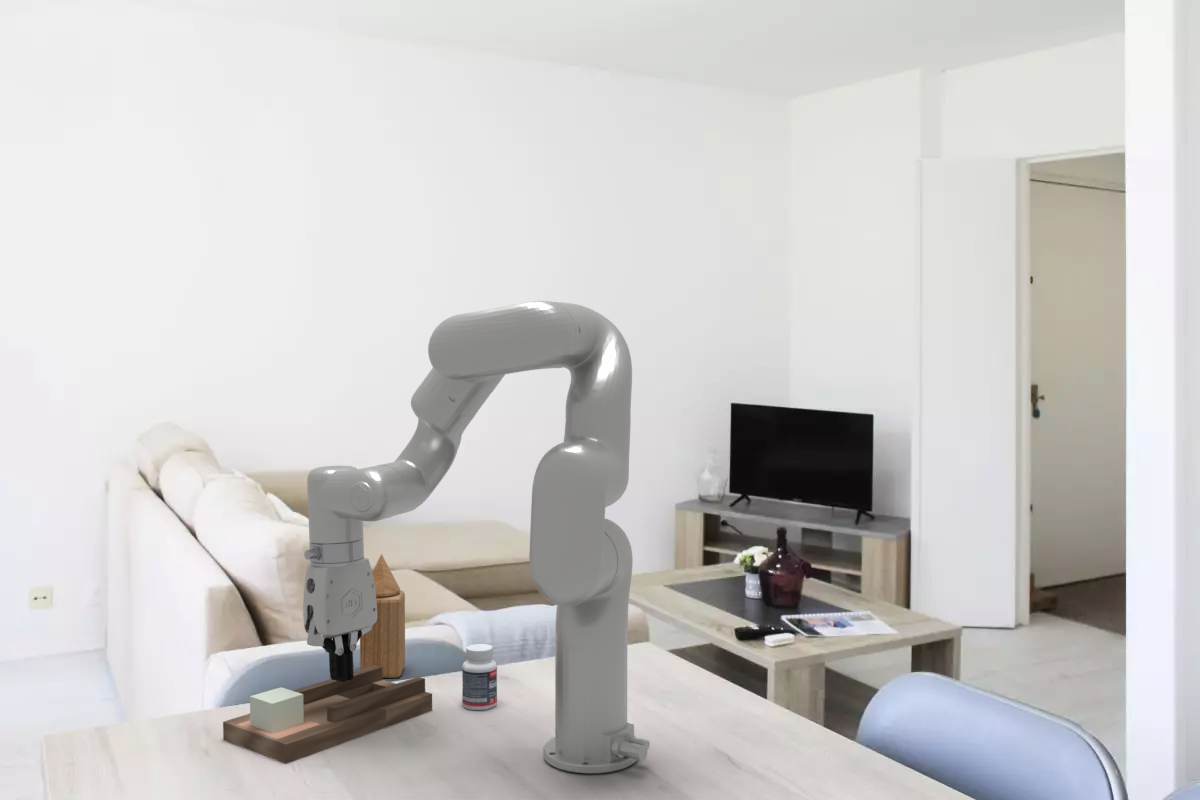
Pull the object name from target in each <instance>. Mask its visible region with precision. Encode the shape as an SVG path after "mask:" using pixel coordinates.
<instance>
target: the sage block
mask: <svg viewBox="0 0 1200 800" xmlns="http://www.w3.org/2000/svg"><path fill="white" fill-rule="evenodd" d="M249 710H250V711H249V714H250V725H251V726H254V727H257V728H260V729H262V730H265V731H268V732H271V733H275V732H278V731H281V730H284V729H287V728H290V727H293V726H296V725H299V724H302V723H304V715H303V694H301V693H298V692H295V691H293V690H291V689H288V688H285V687H277V688H273V689H270V690H267V691H266V690H265V691H263V692H260V693H256V694H254V695H250V696H249Z"/></svg>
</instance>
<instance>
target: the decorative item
mask: <svg viewBox="0 0 1200 800" xmlns="http://www.w3.org/2000/svg"><path fill="white" fill-rule="evenodd" d="M389 567H390V566H389V565H388V563H387V562H386V560H385V558H384V556H383V554H380V556H379V558H378V560H377V562H376V563H375V565H374V568H373V570H372V573H373V579H374V585H375V593H376V603H377V621H376V622H375V624H374V625H372V629H371V630H370V631H369V632H367V633H365V634H364V635H361V637H360V639H359V668H360V670H362V669H366V668H369V667H372V666H380V667H382V679H383V678H384V679H386V678H387V679H391V678H392V679H397V678H399V677H401V675H402V673H403V670H404V668H405V666H406V605H405V604H406V600H405V599H406V596H405V595H406V593H405V591H403V590H402V589H401V587H400V585H399V584H398V581H396V578H395V577H394V575H393V573H392V571H391V569H390V568H389Z"/></svg>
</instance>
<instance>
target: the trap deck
mask: <svg viewBox="0 0 1200 800" xmlns="http://www.w3.org/2000/svg"><path fill="white" fill-rule="evenodd" d="M292 691H295V692H298V693H301V694H303V715H304V723H302V724H299V725H296V726H293V727H290V728H287V729H284V730H281V731H278V732H275V733H271V732H268V731H265V730H262V729H260V728H257V727H254V726H251V725H250V713H247V714H243V715H241V716H237V717H235V718H234V717H233V718H231V719H228V720H225V721H222V723H223V724H222V730H223V733H222V736H223V737H222V739H223V740H224V741H226V742H228V743H230V744H234V745H236V746H239V747H241V746H242V748H245V749H247V750H249V749H250V751H252V752H255V753H257V752H258V753H257V754H260V753H261V754H260V755H262V756H266V757H269V758H271V759H274V760H276V761H278V762H282V763H284V764H288V763H291V762H294V761H297V760H301V759H302V758H304V757H307V756H311V755H313V754H316V753H319V752H322V751H324V750H327V749H330V748H332V747H336V746H338V745H341V744H343V743H346V742H349V741H352V740H354V739H357V738H360V737H362V736H365V735H368V734H370V733H374V732H376V731H378V730H381V729H385V728H387V727H390V726H393V725H395V724H398V723H401V722H403V721H406V720H410V719H412V718H415V717H418V716H420V715H424V714H426V713H428V712H432V711H433V693H431V692H427V691H426V678H424V677H421V676H417V677H413V678H410V679H407V680H404V681H400V682H398V683H395V682H391V681H387V680H384V679H383V678H382V667H380V666H372V667H369V668H366V669H362V670H359V669H358V670H357V671H353V679H352V680H347V681H346V682H340V681H336V680H332V679H331V678H329V679H326V680H322V681H319V682H317V683H313V684H310V685H306V686H303V687H301V688H296V689H293V690H292Z"/></svg>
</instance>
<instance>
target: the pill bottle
mask: <svg viewBox="0 0 1200 800" xmlns="http://www.w3.org/2000/svg"><path fill="white" fill-rule="evenodd" d="M465 651H466V652H465V655H466V658H467V659H466V660H465V661H464V662H463V663H462V666H461V667H462V671H461V672H462V675H461V676H462V678H461V679H462V689H461V690H462V692H461V693H462V695H461V697H462V699H461V700H462V707H463V708H464V709H467V710H470V711H486V710H489V709H493V708H495V707H496V706H497V704H498V669H497V668H498V667H497V666H498V665H497V662H496V661H495V660H493V659H492V658H493V656H494V648H493V645H490V644H485V643H477V644H470V645H468V646H466V648H465Z"/></svg>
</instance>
